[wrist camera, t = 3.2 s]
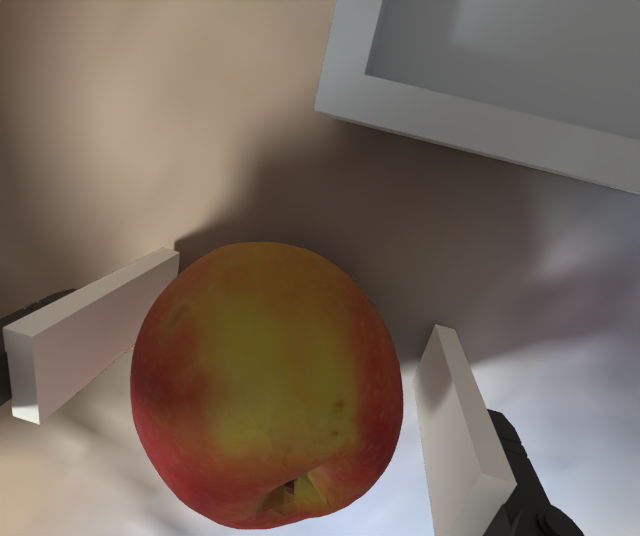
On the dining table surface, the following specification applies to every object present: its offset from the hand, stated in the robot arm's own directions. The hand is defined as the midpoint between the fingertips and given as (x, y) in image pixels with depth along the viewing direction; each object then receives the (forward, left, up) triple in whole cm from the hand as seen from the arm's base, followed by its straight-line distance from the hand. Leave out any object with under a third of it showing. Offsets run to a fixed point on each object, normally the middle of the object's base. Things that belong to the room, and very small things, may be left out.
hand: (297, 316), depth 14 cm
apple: (0, 0, -1) cm, 1 cm away
